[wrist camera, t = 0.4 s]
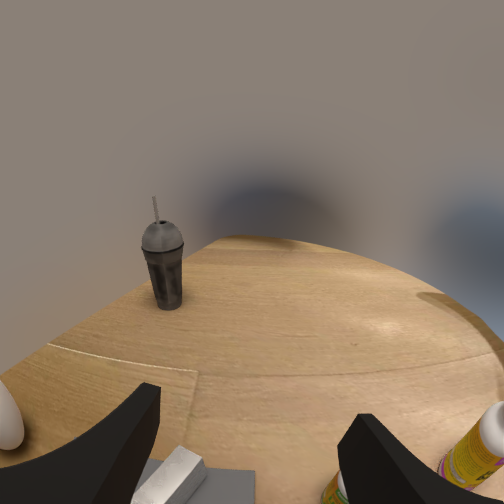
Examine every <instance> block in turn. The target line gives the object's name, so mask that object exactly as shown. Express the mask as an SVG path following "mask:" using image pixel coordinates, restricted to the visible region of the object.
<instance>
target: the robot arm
mask: <svg viewBox="0 0 504 504" xmlns="http://www.w3.org/2000/svg"><path fill="white" fill-rule="evenodd" d="M160 396H161V387H159V386H155V385H152V384H148V383H145V382H144V383H142V384H140V385H139V387H138V388H137V389H136V390H135V391H134V392H133V393H132V394H131V395H130V396H129V397H128V398H127V399H126V400H125V401H124V402H122V403H121V404H120V405H119V406H118V407H117V408H116V409H115V410H113V411H112V412H111V413H110V414H109V415H108V416H106V417H105V418H104V419H103V420H102V421H100V422H99V423H97V424H96V425H95V426H93V427H92V428H91V429H89V430H88V431H87V432H85V433H84V434H82V435H81V436H79V437H77V438H76V439H74V440H73V441H71V442H69V443H67V444H66V445H64V446H62V447H60V448H58V449H56V450H54V451H52V452H50V453H47V454H45V455H43V456H40V457H38V458H35V459H32V460H29V461H26V462H23V463H20V464H17V465H13V466H9V467H4V468H0V504H131V501H132V497H133V495H134V492H135V489H136V487H137V484H138V482H139V479H140V477H141V475H142V472H143V470H144V467H145V465H146V463H147V460H148V458H149V455H150V453H151V450H152V448H153V445H154V442H155V438H156V435H157V431H158V427H159V424H160ZM337 448H338V459H339V467H340V471H341V475H342V479H343V483H344V487H345V491H346V494H347V498H348V502H349V504H504V502H503V501H501V500H496V499H492V498H488V497H484V496H481V495H478V494H475V493H473V492H470V491H468V490H465V489H463V488H461V487H459V486H457V485H455V484H453V483H451V482H450V481H448V480H446V479H445V478H443V477H442V476H440V475H439V474H437V473H436V472H434V471H433V470H431V469H430V468H429V467H427V466H426V465H425V464H424V463H423V462H421V461H420V460H419V459H418V458H417V457H415V456H414V455H413V454H412V453H411V452H410V451H409V450H408V449H407V448H406V447H405V446H404V445H403V444H402V443H401V442H400V441H399V440H398V439H397V438H396V437H395V436H394V435H393V434H392V433H391V432H390V431H389V430H388V429H387V428H386V427H385V426H384V425H383V424H382V423H381V422H380V421H379V420H378V419H377V418H376V417H375V416H374V415H372V414H358V415H357V416H356V418H355V419H354V421H353V423H352V424H351V426H350V427H349V429H348V430H347V432H346V433H345V435H344V436H343V438H342V439H341V441H340V442H339V444H338V445H337Z"/></svg>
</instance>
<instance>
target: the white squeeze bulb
mask: <svg viewBox="0 0 504 504" xmlns="http://www.w3.org/2000/svg"><path fill="white" fill-rule="evenodd" d="M23 438H24V425H23V421H22V417H21V414H20V411H19V409H18V407H17V405H16V403H15V401H14V399H13V397H12V395H11V394H10V392H9V391H8V389H7V388H6V387H5V385H4V384H3V383H2V382H1V380H0V449H4V450H12V449H15V448H17V447H18V446H19V445H20V444H21V443H22V441H23Z"/></svg>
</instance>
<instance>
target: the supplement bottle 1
mask: <svg viewBox="0 0 504 504" xmlns="http://www.w3.org/2000/svg"><path fill="white" fill-rule="evenodd" d="M321 503H322V504H349V502H348V498H347V494H346V491H345V487H344V483H343V479H342V475H341V471H340V470H339V471H338V472H337V474H336V475H335V477H334V478H333V479H332V481H331V482H330V483H329V484H328V486H327V487H326V488H325V490H324V492H323V494H322V499H321Z"/></svg>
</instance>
